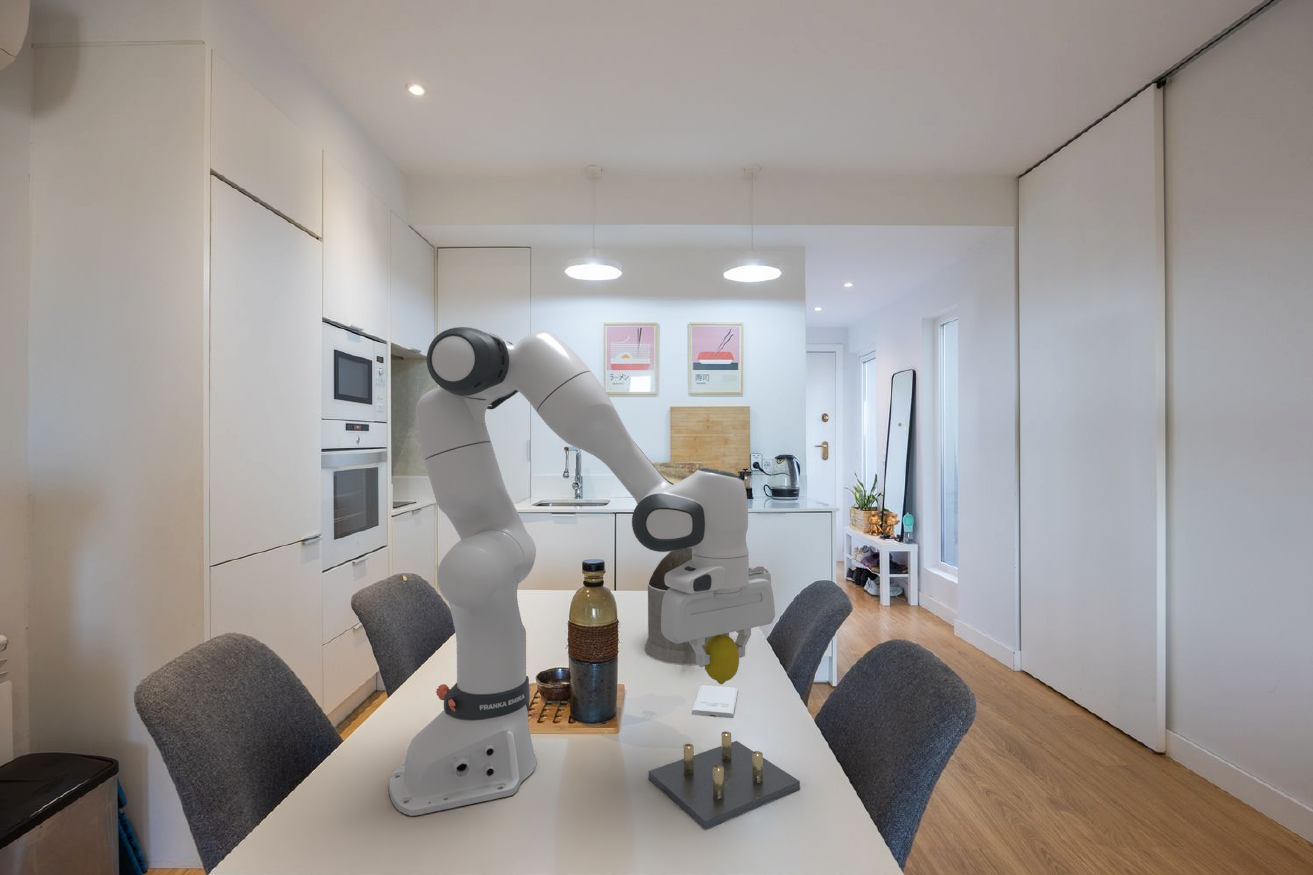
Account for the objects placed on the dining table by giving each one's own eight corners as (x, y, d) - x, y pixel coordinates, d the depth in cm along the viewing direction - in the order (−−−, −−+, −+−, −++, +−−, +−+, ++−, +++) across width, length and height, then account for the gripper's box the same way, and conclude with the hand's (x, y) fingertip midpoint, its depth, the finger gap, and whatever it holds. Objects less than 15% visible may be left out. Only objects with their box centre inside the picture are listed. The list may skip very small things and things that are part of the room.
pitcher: (730, 635, 165) (729, 546, 166) (739, 679, 134) (738, 568, 134) (648, 634, 167) (647, 546, 167) (637, 678, 135) (636, 568, 136)
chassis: (705, 829, 81) (704, 791, 81) (648, 778, 93) (648, 745, 93) (799, 788, 90) (799, 754, 90) (736, 747, 103) (736, 717, 103)
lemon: (735, 676, 95) (735, 627, 95) (742, 691, 90) (742, 638, 90) (701, 677, 95) (701, 627, 95) (705, 691, 89) (706, 638, 89)
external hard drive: (738, 695, 126) (733, 721, 114) (700, 692, 128) (691, 717, 116) (738, 687, 126) (733, 712, 114) (700, 684, 128) (691, 708, 116)
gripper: (757, 561, 101) (757, 643, 100) (655, 575, 90) (655, 667, 90) (783, 568, 95) (784, 654, 95) (678, 583, 85) (679, 680, 84)
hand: (721, 660), depth 92 cm, fingers closed on lemon, 5 cm apart
